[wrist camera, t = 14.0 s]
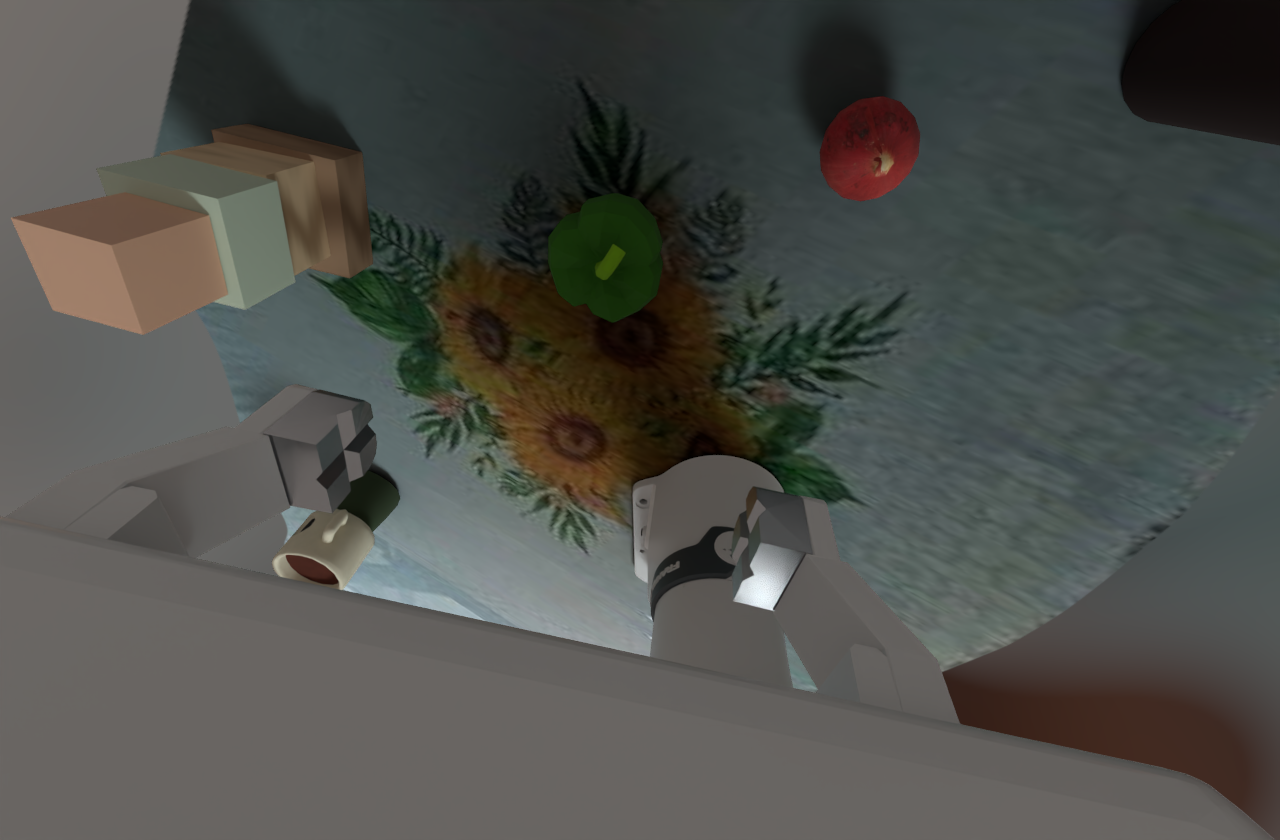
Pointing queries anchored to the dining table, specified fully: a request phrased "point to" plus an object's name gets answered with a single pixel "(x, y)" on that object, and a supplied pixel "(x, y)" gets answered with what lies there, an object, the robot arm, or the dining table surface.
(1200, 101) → the bottle
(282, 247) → the sage cube
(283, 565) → the character mug
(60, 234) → the terracotta block
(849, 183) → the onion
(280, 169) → the oak cube
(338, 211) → the walnut slab
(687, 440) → the dining table surface
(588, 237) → the bell pepper
